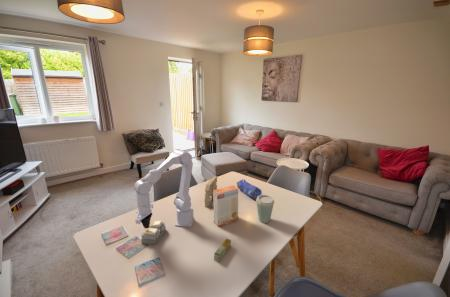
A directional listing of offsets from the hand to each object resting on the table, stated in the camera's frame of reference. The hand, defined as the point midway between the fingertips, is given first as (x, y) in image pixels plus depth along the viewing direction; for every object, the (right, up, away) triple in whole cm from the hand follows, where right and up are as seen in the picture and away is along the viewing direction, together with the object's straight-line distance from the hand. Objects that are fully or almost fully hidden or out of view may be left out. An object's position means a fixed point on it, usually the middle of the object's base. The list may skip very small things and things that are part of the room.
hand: (146, 227), depth 103 cm
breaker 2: (+2, -2, 0) cm, 3 cm away
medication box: (+39, -10, -6) cm, 41 cm away
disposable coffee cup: (+64, -3, +19) cm, 67 cm away
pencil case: (+59, +5, +52) cm, 78 cm away
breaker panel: (+2, -6, +5) cm, 8 cm away
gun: (+30, +3, +44) cm, 54 cm away
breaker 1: (+3, -1, +6) cm, 7 cm away
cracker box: (+41, -3, +18) cm, 45 cm away
